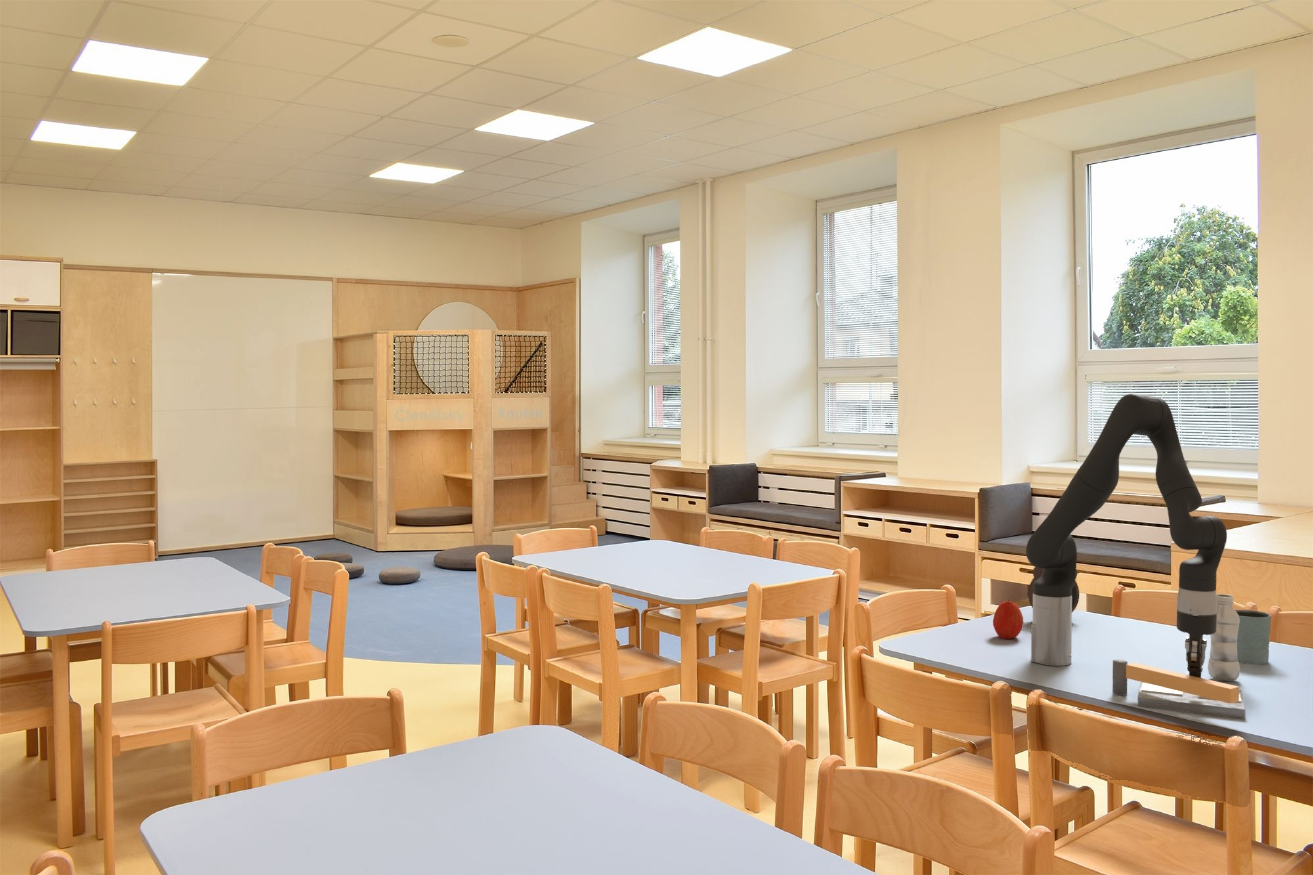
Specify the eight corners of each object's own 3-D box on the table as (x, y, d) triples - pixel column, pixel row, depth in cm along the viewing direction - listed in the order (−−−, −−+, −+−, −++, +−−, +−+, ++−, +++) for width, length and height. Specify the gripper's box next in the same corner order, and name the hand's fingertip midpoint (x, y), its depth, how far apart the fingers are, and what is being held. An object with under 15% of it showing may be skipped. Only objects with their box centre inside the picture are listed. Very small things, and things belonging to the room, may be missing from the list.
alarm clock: (1041, 624, 300) (1041, 557, 299) (1026, 619, 307) (1026, 554, 306) (1083, 621, 304) (1083, 555, 303) (1067, 617, 311) (1067, 552, 310)
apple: (1028, 641, 280) (1028, 602, 279) (998, 641, 280) (998, 602, 279) (1018, 634, 288) (1018, 596, 287) (988, 634, 288) (989, 596, 288)
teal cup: (1259, 667, 251) (1260, 618, 250) (1217, 658, 259) (1217, 612, 258) (1278, 660, 257) (1278, 613, 256) (1236, 653, 265) (1236, 607, 264)
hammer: (1109, 692, 228) (1109, 660, 228) (1117, 690, 230) (1118, 659, 230) (1230, 724, 205) (1230, 688, 205) (1238, 721, 207) (1238, 686, 207)
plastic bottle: (1244, 684, 235) (1245, 598, 235) (1212, 682, 237) (1213, 597, 236) (1234, 676, 242) (1235, 593, 241) (1203, 675, 243) (1204, 592, 242)
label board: (1137, 706, 219) (1138, 695, 219) (1140, 687, 233) (1141, 677, 233) (1244, 719, 210) (1245, 707, 209) (1241, 698, 224) (1241, 688, 224)
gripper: (1179, 601, 224) (1177, 678, 225) (1174, 613, 212) (1172, 694, 214) (1218, 605, 220) (1216, 683, 221) (1215, 618, 209) (1213, 700, 210)
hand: (1194, 688), depth 217 cm, fingers closed
